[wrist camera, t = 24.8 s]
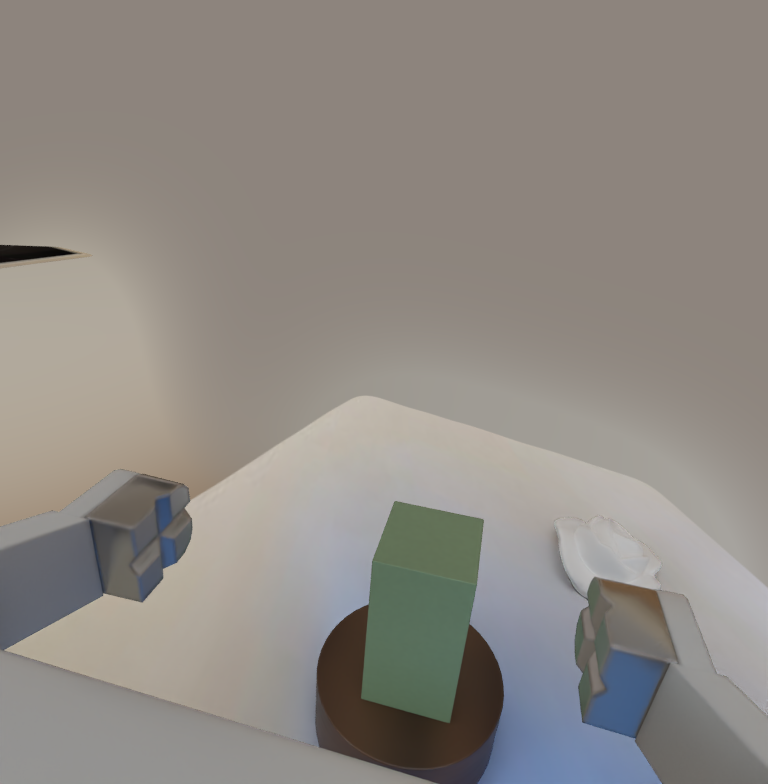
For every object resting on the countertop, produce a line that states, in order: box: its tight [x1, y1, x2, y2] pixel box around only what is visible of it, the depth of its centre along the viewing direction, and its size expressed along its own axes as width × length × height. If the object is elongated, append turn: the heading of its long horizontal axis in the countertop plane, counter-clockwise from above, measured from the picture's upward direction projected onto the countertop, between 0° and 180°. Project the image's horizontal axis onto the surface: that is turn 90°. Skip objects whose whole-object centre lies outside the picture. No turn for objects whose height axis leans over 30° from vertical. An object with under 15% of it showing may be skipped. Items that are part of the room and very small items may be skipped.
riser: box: [315, 605, 504, 784], centre depth 32 cm, size 11×11×4 cm
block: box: [361, 501, 484, 723], centre depth 29 cm, size 5×5×10 cm
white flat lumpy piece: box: [554, 516, 662, 599], centre depth 46 cm, size 10×4×10 cm
